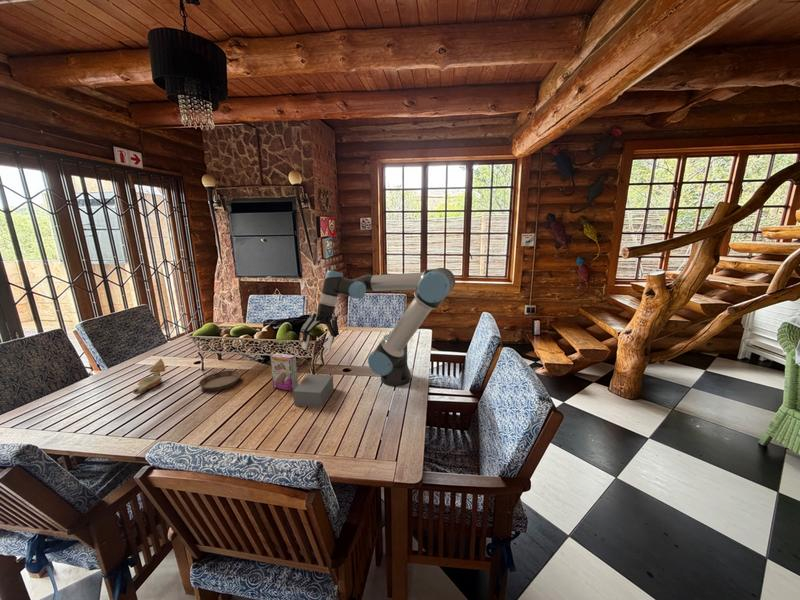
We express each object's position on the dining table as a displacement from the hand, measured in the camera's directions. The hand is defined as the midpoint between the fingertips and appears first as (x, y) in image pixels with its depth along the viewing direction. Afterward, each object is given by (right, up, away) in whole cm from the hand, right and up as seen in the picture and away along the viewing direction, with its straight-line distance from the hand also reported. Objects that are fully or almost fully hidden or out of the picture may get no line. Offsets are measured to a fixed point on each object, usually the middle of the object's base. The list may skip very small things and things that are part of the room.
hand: (316, 349), depth 145 cm
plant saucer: (-50, -19, +11) cm, 55 cm away
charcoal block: (0, -21, -2) cm, 22 cm away
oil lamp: (-83, -20, +8) cm, 85 cm away
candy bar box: (-16, -20, +6) cm, 26 cm away
